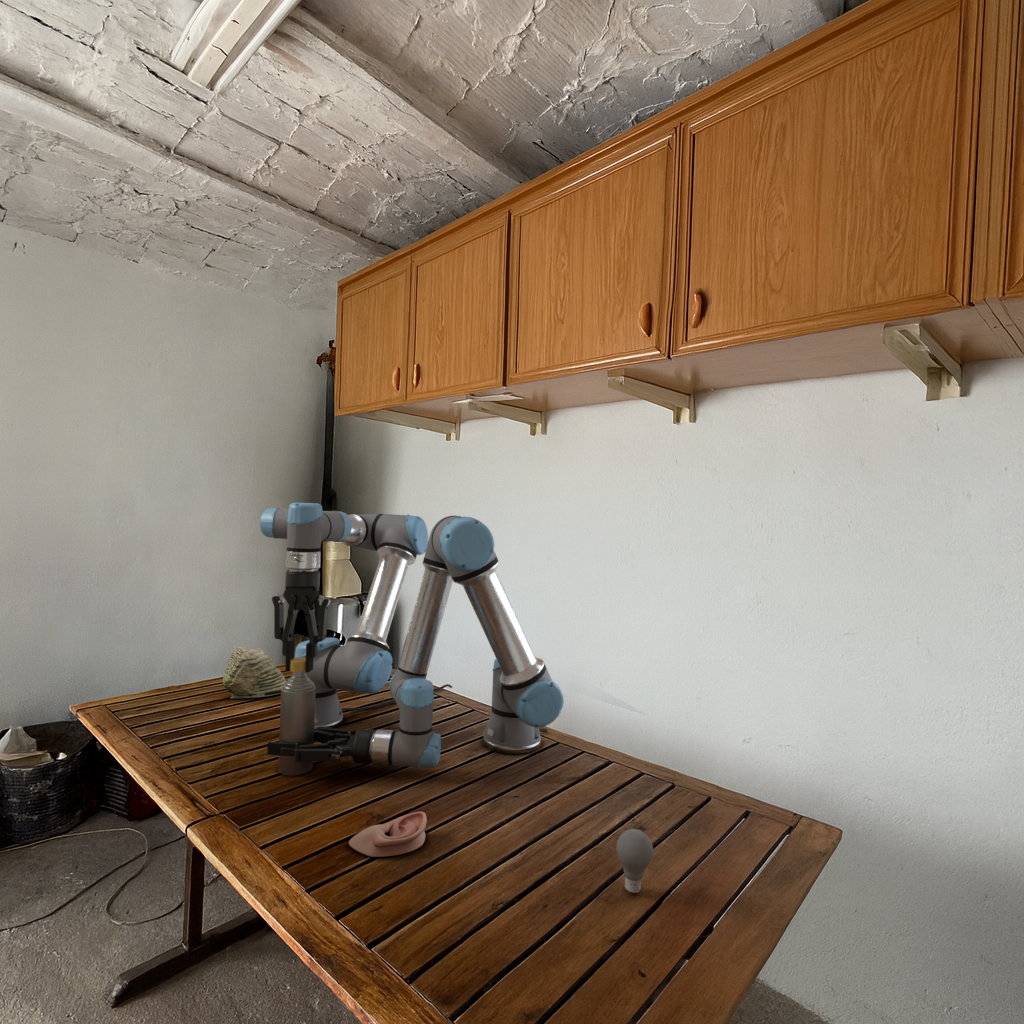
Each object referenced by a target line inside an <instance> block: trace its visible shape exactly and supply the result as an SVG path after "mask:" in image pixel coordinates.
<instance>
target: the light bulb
mask: <svg viewBox="0 0 1024 1024" xmlns="http://www.w3.org/2000/svg"><path fill="white" fill-rule="evenodd" d="M615 849H616V854H617V857H618V859H619V861H620V863H621V865H622V867H623V873H624V874H623V875H624V876H625V878H624V888H625V890H627V891H628V892H630V893H634V894H635V893H639V892H640V891H641V889H642V887H641V886H642V879H643V877H644V875H645V871H646V868H647V867H648V866H649V864H650V863H651V861H652V859H653V855H654V847H653V843H652V841H651V838H649V836H648V835H647V834H646V833H645V832H643V831H642V830H641V829H636V828H629V829H627V830H625V831H623V832H622V833H621V834H620V835H619V837H618V839H617V841H616V847H615Z"/></svg>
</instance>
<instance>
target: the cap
mask: <svg viewBox="0 0 1024 1024" xmlns="http://www.w3.org/2000/svg"><path fill="white" fill-rule="evenodd" d="M305 664H306V658H303V657H299V658H295V657H294V658H293V659H291V660H290V671H289V672H292V673H293V672H305Z"/></svg>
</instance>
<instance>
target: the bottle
mask: <svg viewBox="0 0 1024 1024" xmlns="http://www.w3.org/2000/svg"><path fill="white" fill-rule="evenodd" d="M305 674H306V672H292V675H290V677H289V678H288V679H287V680H286V682H285V684H283V687H282V688H281V693H280V708H279V709H280V711H279V712H280V713H279V738H278V742H284V743H296V742H298V745H308V744H315V743H314V719H315V693H316V686H315V684H314V683H313V682H312V680H310V678H309V677H307V675H305ZM277 762H278V765H277V771H278V773H279V774H281V775H284V776H300V775H305V774H307V773H309V772H311V771H312V770H313V768H314V762H296V761H295V756H279V755H278V761H277Z"/></svg>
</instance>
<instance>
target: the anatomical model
mask: <svg viewBox="0 0 1024 1024" xmlns="http://www.w3.org/2000/svg"><path fill="white" fill-rule="evenodd" d="M427 821H428V819H427V814H426V813H425V812H424V811H414V812H411V813H408V814H404V815H402V816H399V817H396V818H395V819H391V820H390V821H388V822H385V823H382V824H381V823H380V824H374V825H371V826H369V827H366V828H364V829H362V830H361V831H359V832H358V833H356V834H355V835H354V836H352V837H351V838H350V839H349V841H348V845H349V847H351V848H352V849H353V850H355V851H356V852H358V853H360V854H362V855H365V856H367V857H371V858H372V857H373V858H382V857H391V856H399V855H403V854H407V853H410V852H412V851H413V852H414V851H415V850H417V849H419V848H420V847H422V846H423V845H424V843H425V842H426V832H425V829H426V827H427Z"/></svg>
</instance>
